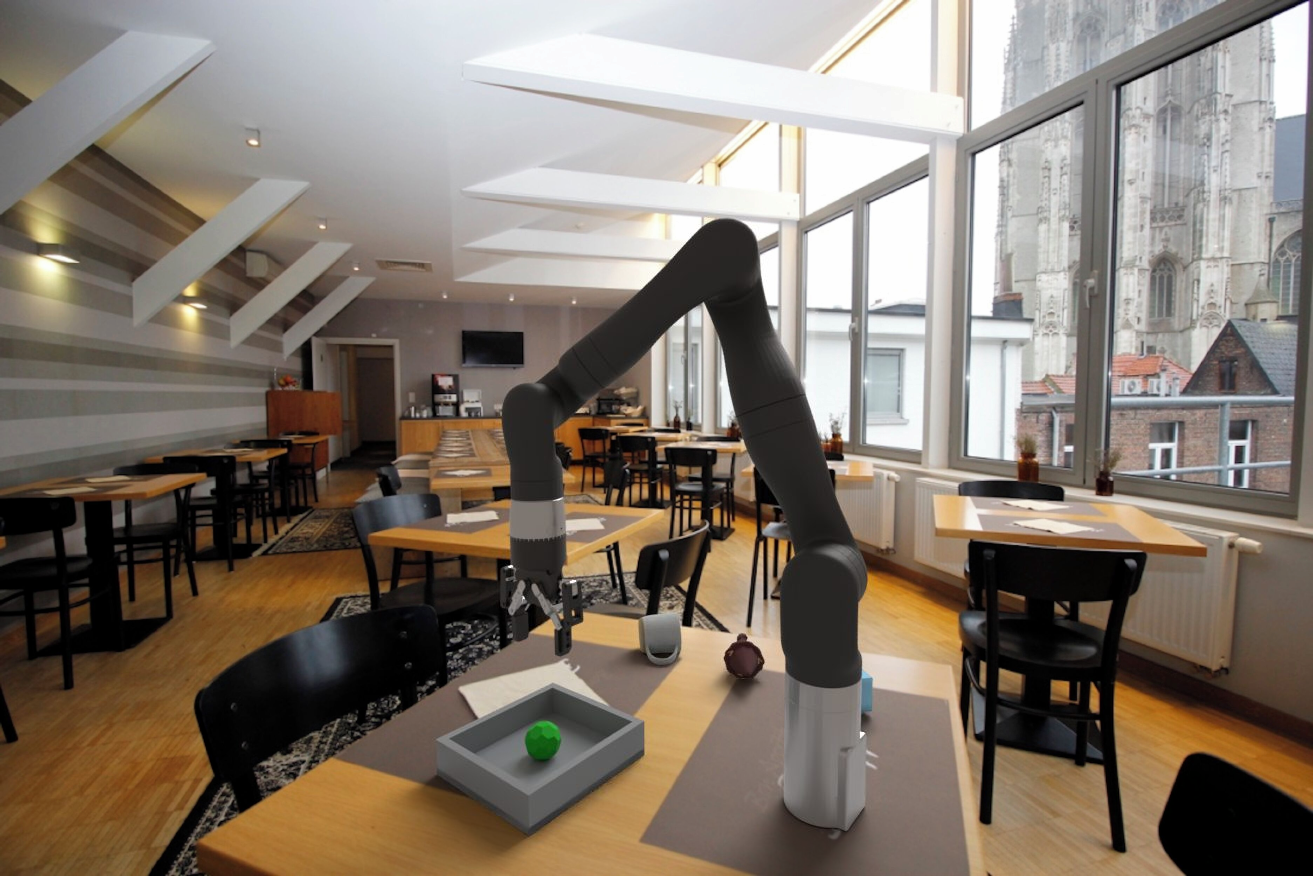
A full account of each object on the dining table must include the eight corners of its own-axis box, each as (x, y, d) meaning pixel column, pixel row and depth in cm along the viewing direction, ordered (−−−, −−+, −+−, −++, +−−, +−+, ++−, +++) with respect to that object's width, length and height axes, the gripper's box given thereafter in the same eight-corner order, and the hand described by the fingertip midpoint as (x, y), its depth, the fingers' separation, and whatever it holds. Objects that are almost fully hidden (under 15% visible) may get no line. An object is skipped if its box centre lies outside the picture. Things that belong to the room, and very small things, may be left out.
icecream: (774, 660, 107) (762, 634, 122) (732, 648, 108) (725, 623, 123) (764, 699, 107) (753, 668, 122) (722, 688, 108) (716, 658, 123)
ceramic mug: (637, 644, 130) (637, 608, 129) (676, 642, 131) (676, 606, 130) (642, 668, 119) (642, 628, 119) (685, 665, 120) (685, 626, 120)
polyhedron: (521, 751, 90) (521, 719, 89) (555, 743, 92) (555, 712, 91) (530, 771, 85) (529, 737, 85) (565, 762, 87) (564, 728, 87)
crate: (644, 754, 91) (644, 721, 90) (529, 836, 74) (528, 795, 74) (553, 712, 103) (553, 682, 102) (436, 774, 86) (435, 739, 86)
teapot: (808, 689, 110) (809, 648, 110) (840, 686, 111) (841, 645, 111) (841, 725, 98) (842, 678, 98) (876, 721, 100) (878, 675, 99)
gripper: (595, 532, 84) (597, 650, 85) (525, 520, 93) (528, 627, 94) (553, 543, 78) (556, 670, 79) (482, 529, 87) (486, 643, 88)
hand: (541, 646), depth 87 cm, fingers open, 8 cm apart
